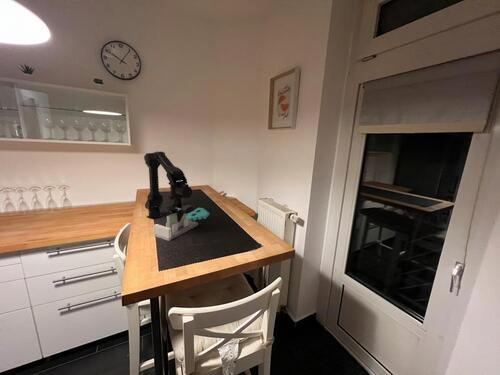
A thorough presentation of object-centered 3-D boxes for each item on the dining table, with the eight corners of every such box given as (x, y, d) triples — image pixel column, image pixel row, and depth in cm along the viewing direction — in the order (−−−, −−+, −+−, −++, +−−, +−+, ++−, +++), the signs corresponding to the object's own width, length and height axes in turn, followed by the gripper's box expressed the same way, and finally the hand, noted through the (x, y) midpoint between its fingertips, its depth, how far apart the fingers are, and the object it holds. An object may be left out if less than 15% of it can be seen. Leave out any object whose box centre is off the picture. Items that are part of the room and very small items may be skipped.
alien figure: (170, 219, 129) (200, 223, 125) (170, 216, 129) (200, 219, 125) (186, 209, 148) (213, 212, 144) (186, 206, 148) (213, 209, 144)
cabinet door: (167, 230, 108) (166, 216, 106) (183, 222, 119) (183, 209, 117) (171, 231, 107) (170, 217, 105) (187, 223, 118) (186, 210, 116)
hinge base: (154, 236, 106) (153, 225, 105) (184, 221, 126) (184, 212, 124) (169, 240, 102) (168, 229, 101) (198, 225, 122) (198, 215, 120)
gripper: (150, 194, 106) (152, 223, 109) (178, 200, 98) (179, 231, 102) (167, 190, 116) (169, 216, 119) (194, 195, 108) (194, 223, 112)
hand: (177, 221), depth 113 cm, fingers closed on cabinet door, 2 cm apart
